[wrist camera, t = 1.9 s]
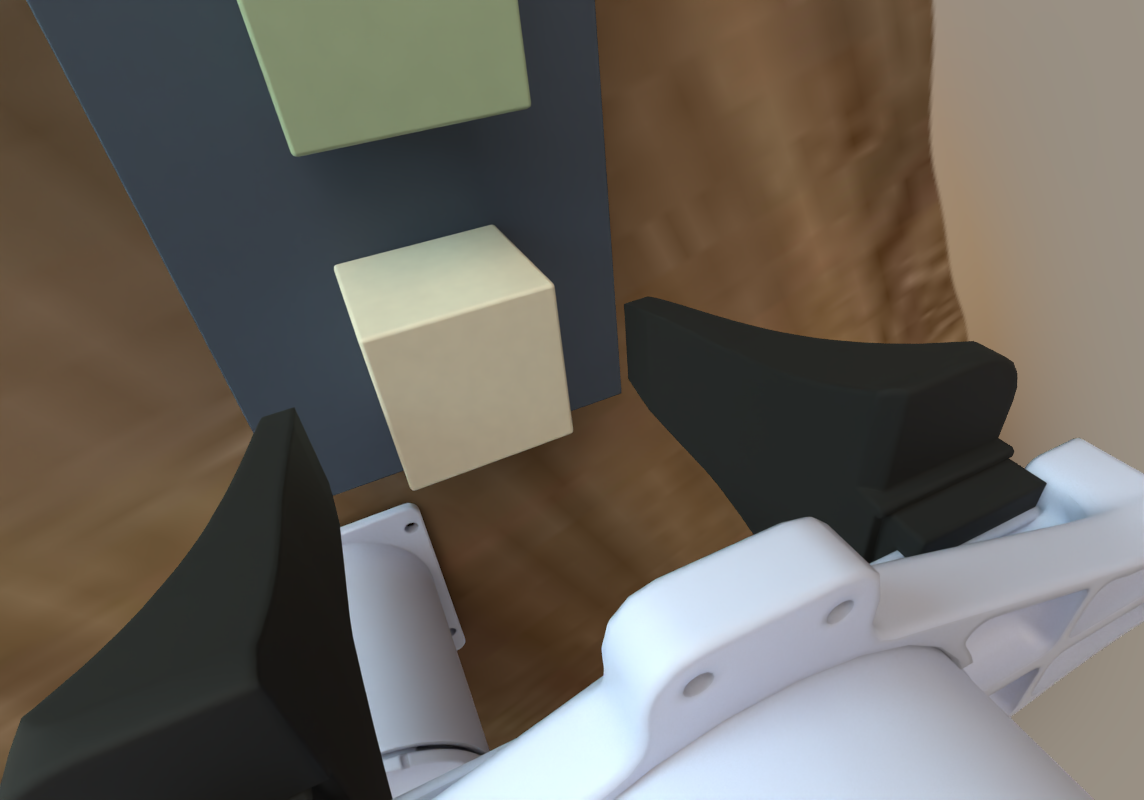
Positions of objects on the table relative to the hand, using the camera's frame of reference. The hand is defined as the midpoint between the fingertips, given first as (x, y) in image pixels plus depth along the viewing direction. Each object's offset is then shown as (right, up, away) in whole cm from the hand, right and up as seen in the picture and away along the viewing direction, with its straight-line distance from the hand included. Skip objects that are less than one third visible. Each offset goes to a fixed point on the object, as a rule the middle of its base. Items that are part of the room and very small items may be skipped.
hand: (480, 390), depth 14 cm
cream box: (-2, +2, +3) cm, 4 cm away
